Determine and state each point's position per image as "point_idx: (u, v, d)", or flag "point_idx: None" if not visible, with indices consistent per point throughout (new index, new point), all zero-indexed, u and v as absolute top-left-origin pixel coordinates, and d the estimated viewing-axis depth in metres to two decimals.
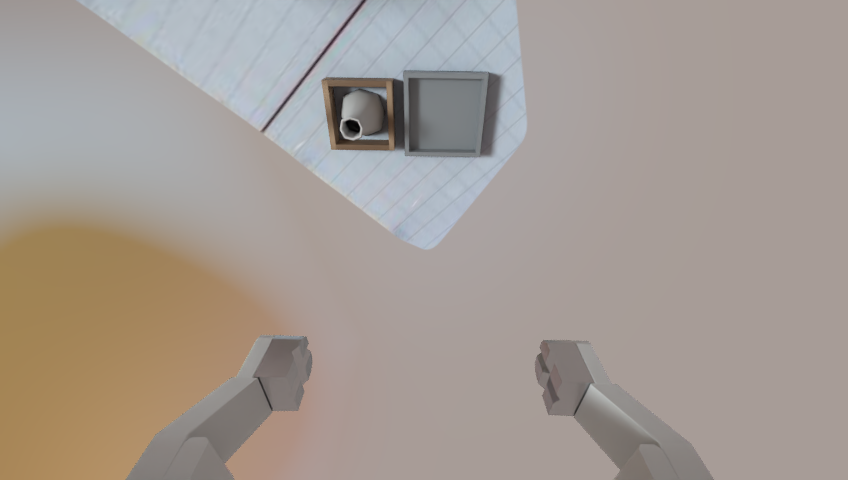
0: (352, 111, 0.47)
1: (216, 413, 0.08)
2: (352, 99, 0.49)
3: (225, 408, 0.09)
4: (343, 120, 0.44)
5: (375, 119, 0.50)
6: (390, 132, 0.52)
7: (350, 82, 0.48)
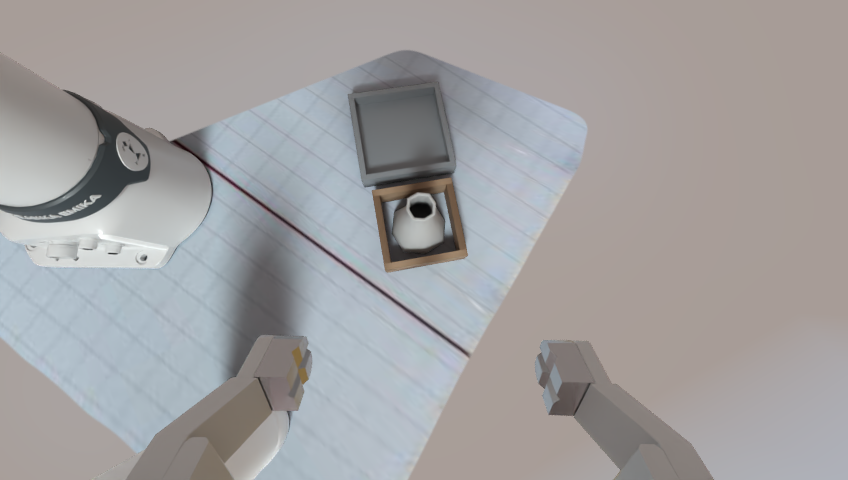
0: (407, 221, 0.37)
1: (216, 413, 0.08)
2: (400, 233, 0.40)
3: (225, 408, 0.09)
4: (412, 217, 0.33)
5: None
6: (430, 184, 0.41)
7: (381, 236, 0.40)
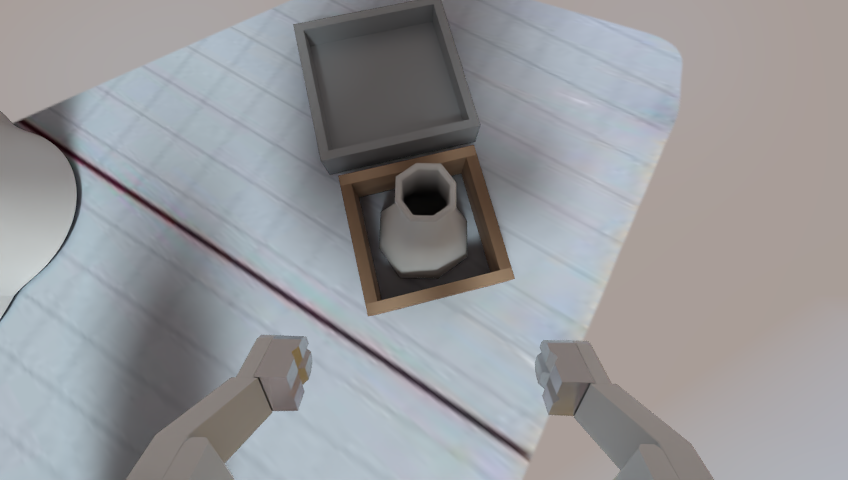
0: (401, 224, 0.20)
1: (216, 413, 0.08)
2: (392, 247, 0.23)
3: (225, 408, 0.09)
4: (408, 214, 0.16)
5: None
6: (439, 159, 0.24)
7: (358, 254, 0.22)
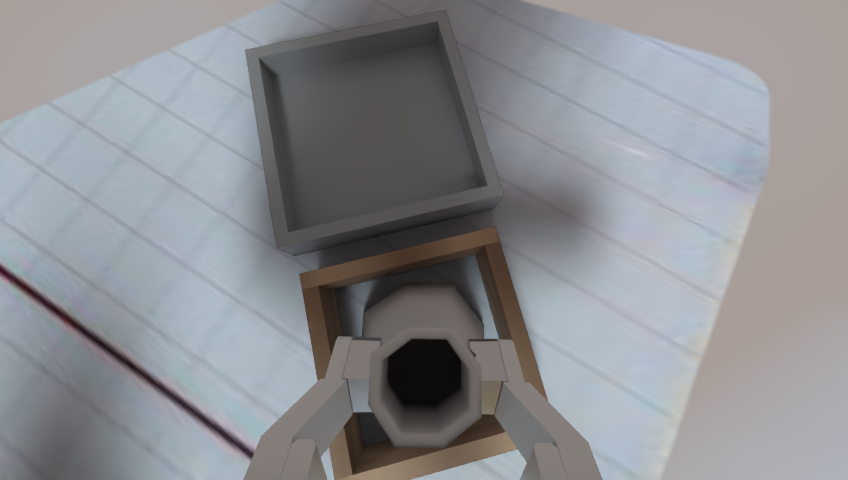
0: (387, 382, 0.12)
1: (315, 414, 0.09)
2: None
3: (321, 410, 0.09)
4: (393, 433, 0.09)
5: (417, 299, 0.16)
6: (445, 248, 0.17)
7: None
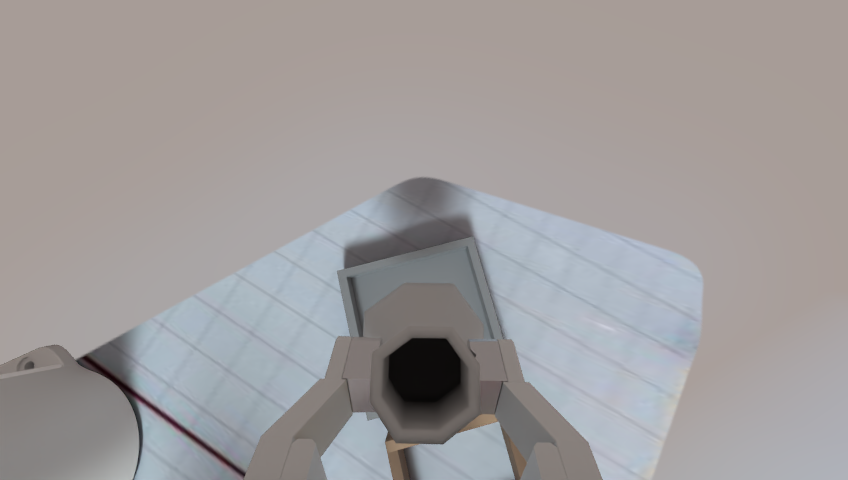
0: None
1: (315, 415, 0.09)
2: None
3: (321, 410, 0.09)
4: (394, 430, 0.09)
5: (417, 299, 0.16)
6: (478, 422, 0.26)
7: None
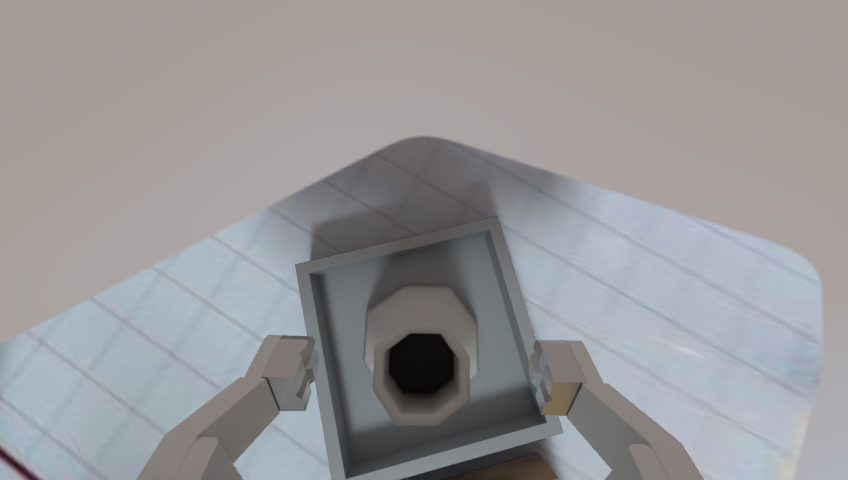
0: None
1: (225, 413, 0.08)
2: None
3: (234, 408, 0.09)
4: (394, 414, 0.10)
5: (415, 299, 0.17)
6: None
7: None
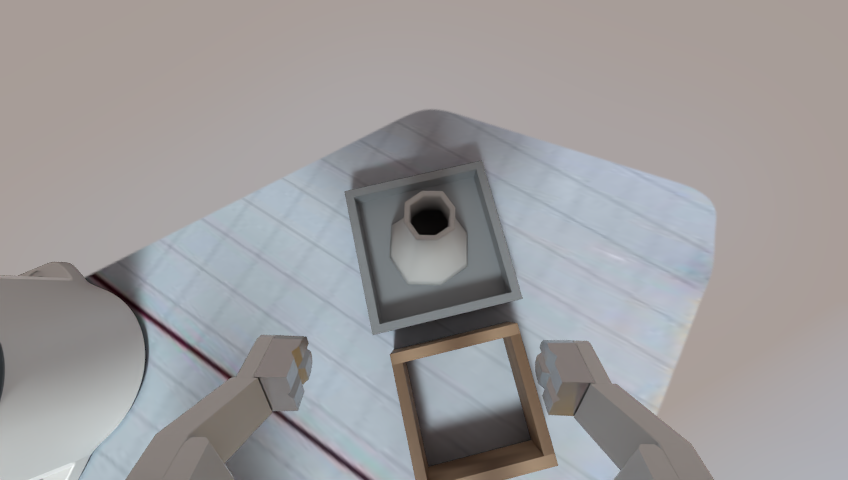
0: (409, 239, 0.23)
1: (216, 413, 0.08)
2: (401, 257, 0.26)
3: (225, 408, 0.09)
4: (415, 234, 0.19)
5: None
6: (484, 338, 0.25)
7: (410, 437, 0.24)
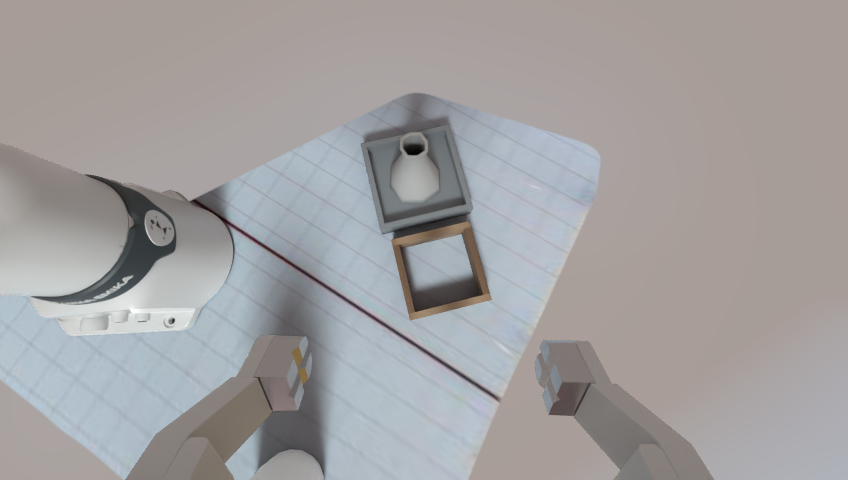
0: (402, 165, 0.39)
1: (216, 413, 0.08)
2: (397, 182, 0.42)
3: (225, 408, 0.09)
4: (406, 154, 0.35)
5: (412, 153, 0.43)
6: (449, 229, 0.42)
7: (404, 286, 0.40)
